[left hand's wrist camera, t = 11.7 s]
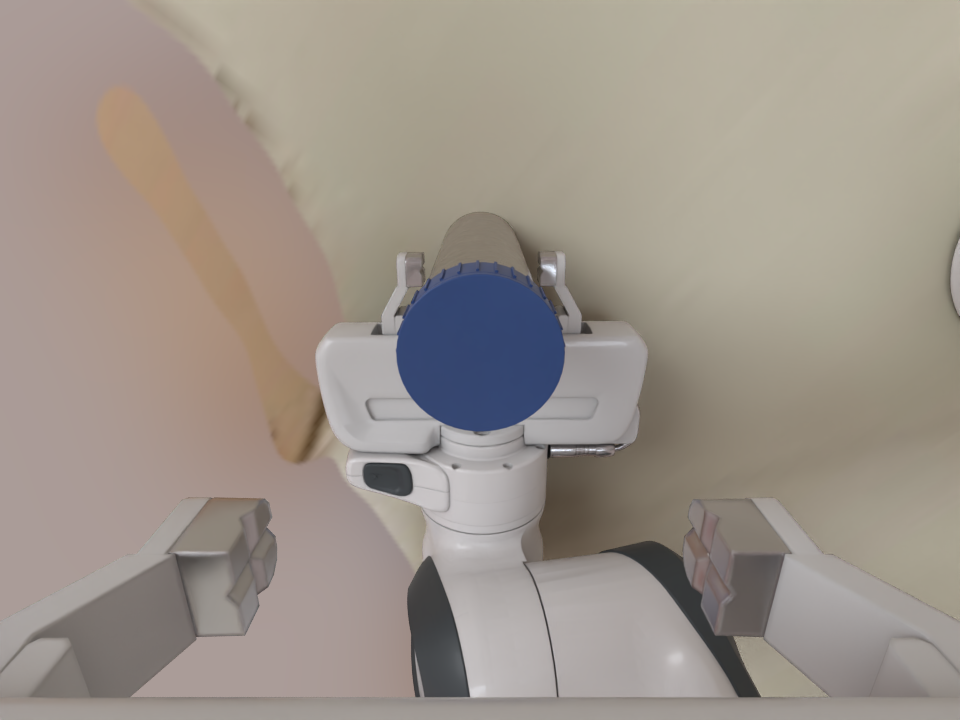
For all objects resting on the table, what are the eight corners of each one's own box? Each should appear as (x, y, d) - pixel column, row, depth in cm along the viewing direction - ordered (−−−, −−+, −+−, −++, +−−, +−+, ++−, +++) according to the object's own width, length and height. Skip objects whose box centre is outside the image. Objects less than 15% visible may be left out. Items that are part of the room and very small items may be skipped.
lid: (422, 420, 22) (416, 446, 20) (384, 276, 20) (373, 290, 18) (569, 394, 22) (577, 418, 20) (546, 244, 20) (553, 255, 18)
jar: (451, 294, 39) (425, 429, 21) (434, 220, 37) (390, 296, 19) (524, 280, 39) (564, 405, 20) (511, 204, 37) (542, 267, 18)
